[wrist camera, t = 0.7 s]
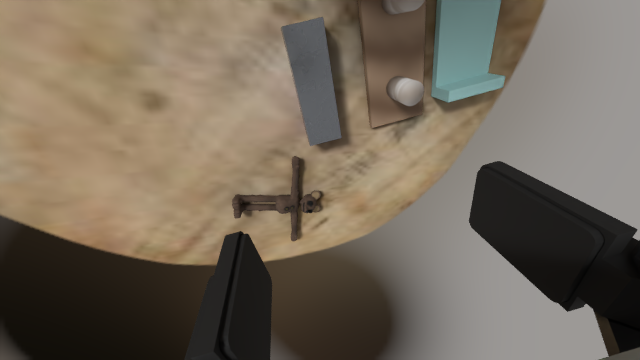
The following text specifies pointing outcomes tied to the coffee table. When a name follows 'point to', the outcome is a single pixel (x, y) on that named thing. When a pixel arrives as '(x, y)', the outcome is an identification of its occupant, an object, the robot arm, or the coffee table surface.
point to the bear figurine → (281, 201)
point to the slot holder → (464, 48)
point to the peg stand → (393, 58)
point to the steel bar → (313, 79)
